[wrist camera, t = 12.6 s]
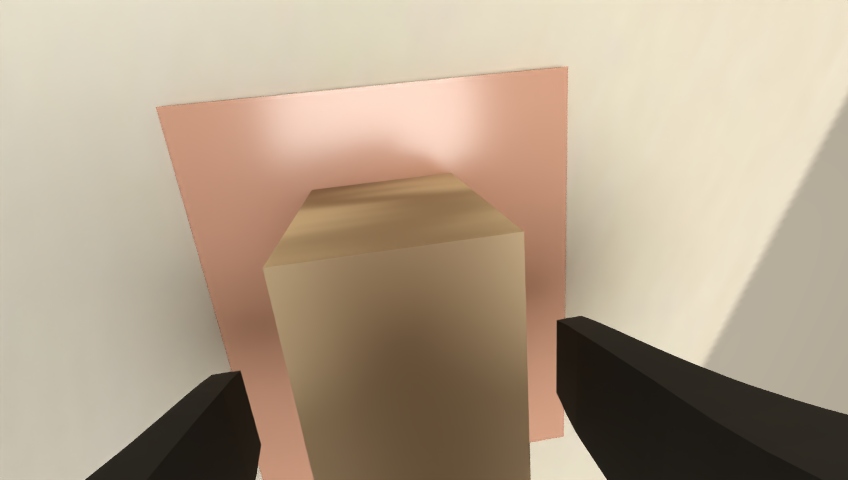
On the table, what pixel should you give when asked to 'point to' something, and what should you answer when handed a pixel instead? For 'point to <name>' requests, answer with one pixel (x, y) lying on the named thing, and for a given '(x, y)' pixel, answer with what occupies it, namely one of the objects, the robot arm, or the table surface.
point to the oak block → (405, 332)
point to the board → (356, 164)
